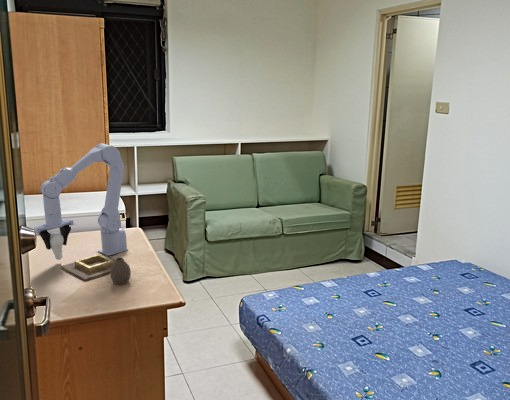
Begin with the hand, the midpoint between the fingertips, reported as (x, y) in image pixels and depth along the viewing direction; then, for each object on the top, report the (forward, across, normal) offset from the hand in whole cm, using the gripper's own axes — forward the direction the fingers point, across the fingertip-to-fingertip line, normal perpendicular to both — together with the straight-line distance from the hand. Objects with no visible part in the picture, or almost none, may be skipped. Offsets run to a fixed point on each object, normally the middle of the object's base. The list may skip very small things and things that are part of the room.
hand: (56, 246), depth 189 cm
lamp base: (+7, -7, +15) cm, 18 cm away
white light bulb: (+6, 0, 0) cm, 6 cm away
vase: (+7, -6, +34) cm, 35 cm away
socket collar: (+7, -7, +15) cm, 18 cm away
